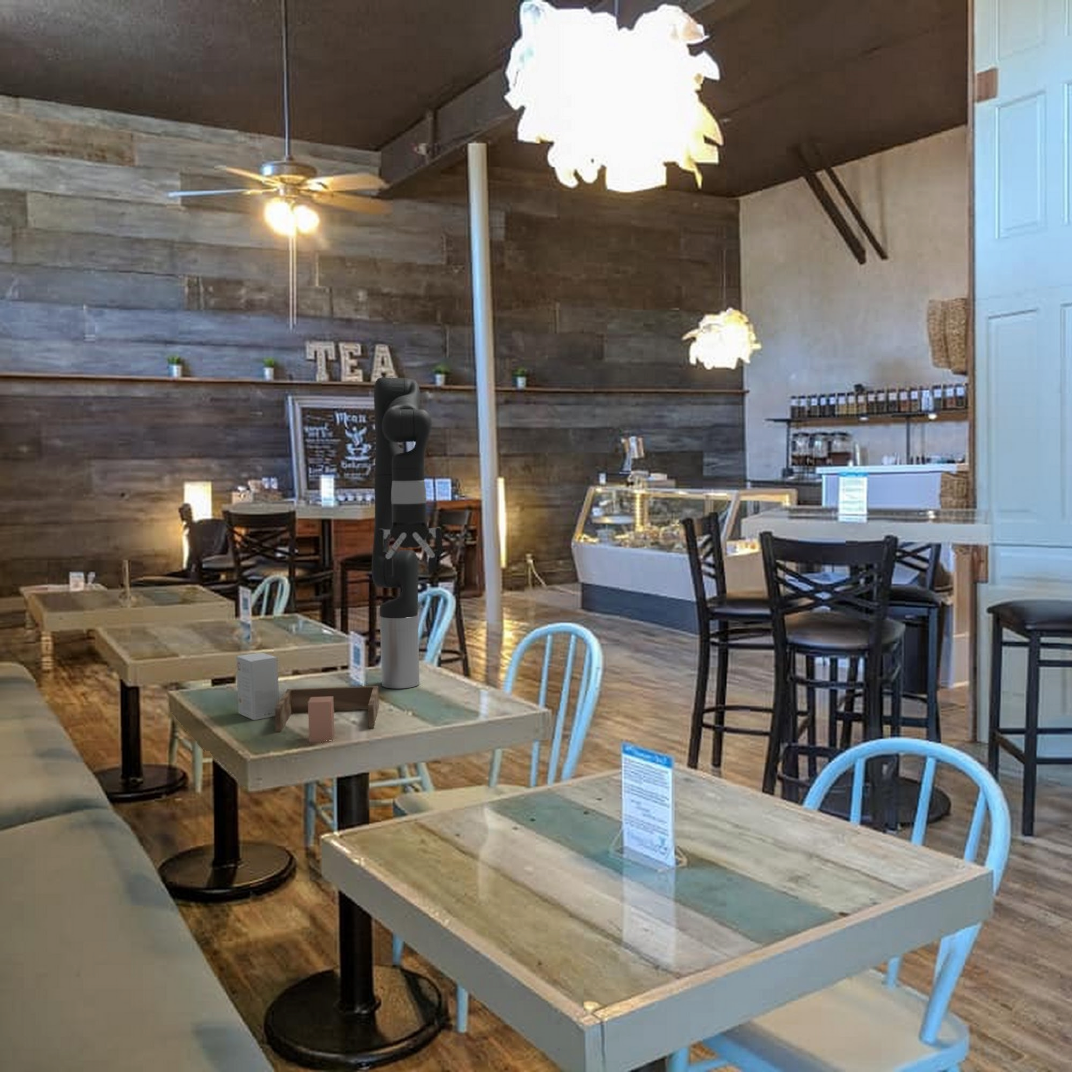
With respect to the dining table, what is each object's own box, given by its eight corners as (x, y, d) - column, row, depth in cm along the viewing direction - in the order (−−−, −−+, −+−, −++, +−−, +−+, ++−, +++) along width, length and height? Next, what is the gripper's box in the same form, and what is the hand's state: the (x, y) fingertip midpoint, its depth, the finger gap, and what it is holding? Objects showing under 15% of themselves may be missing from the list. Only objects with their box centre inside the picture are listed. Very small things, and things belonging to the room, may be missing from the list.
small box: (280, 715, 227) (278, 657, 226) (253, 720, 223) (250, 661, 222) (264, 708, 233) (262, 651, 232) (237, 713, 229) (235, 655, 228)
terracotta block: (312, 735, 210) (310, 697, 210) (334, 734, 211) (333, 696, 210) (309, 742, 206) (307, 702, 205) (332, 741, 206) (330, 701, 206)
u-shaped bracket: (288, 711, 230) (287, 689, 230) (378, 707, 232) (378, 685, 232) (275, 732, 213) (275, 708, 213) (373, 728, 215) (373, 704, 215)
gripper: (441, 499, 230) (443, 572, 232) (377, 501, 229) (379, 574, 230) (441, 501, 223) (443, 576, 224) (374, 503, 221) (377, 578, 223)
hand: (410, 575), depth 227 cm, fingers open, 8 cm apart
